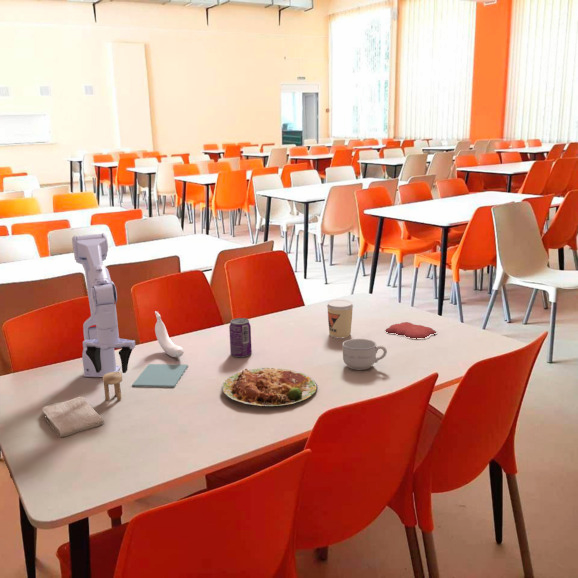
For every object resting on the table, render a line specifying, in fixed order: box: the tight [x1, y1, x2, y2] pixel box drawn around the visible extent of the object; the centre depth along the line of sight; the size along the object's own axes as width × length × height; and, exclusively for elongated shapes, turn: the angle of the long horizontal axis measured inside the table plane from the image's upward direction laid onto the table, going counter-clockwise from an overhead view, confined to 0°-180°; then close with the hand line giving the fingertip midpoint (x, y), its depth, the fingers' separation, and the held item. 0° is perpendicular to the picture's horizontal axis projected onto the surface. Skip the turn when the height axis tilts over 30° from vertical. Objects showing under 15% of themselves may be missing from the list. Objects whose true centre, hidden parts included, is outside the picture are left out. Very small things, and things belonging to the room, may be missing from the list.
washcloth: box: [41, 396, 105, 438], centre depth 166 cm, size 12×18×3 cm, turn 37°
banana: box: [154, 310, 185, 358], centre depth 207 cm, size 5×19×15 cm, turn 38°
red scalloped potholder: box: [384, 321, 437, 339], centre depth 227 cm, size 18×14×2 cm
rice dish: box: [221, 367, 318, 407], centre depth 181 cm, size 28×28×5 cm
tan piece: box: [102, 371, 123, 401], centre depth 177 cm, size 5×5×7 cm
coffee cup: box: [326, 299, 354, 339], centre depth 224 cm, size 9×9×12 cm
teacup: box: [341, 338, 388, 371], centre depth 195 cm, size 14×11×8 cm
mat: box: [132, 363, 189, 388], centre depth 193 cm, size 13×16×1 cm
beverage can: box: [228, 317, 252, 358], centre depth 207 cm, size 7×7×12 cm
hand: (111, 371), depth 176 cm, fingers open, 7 cm apart
